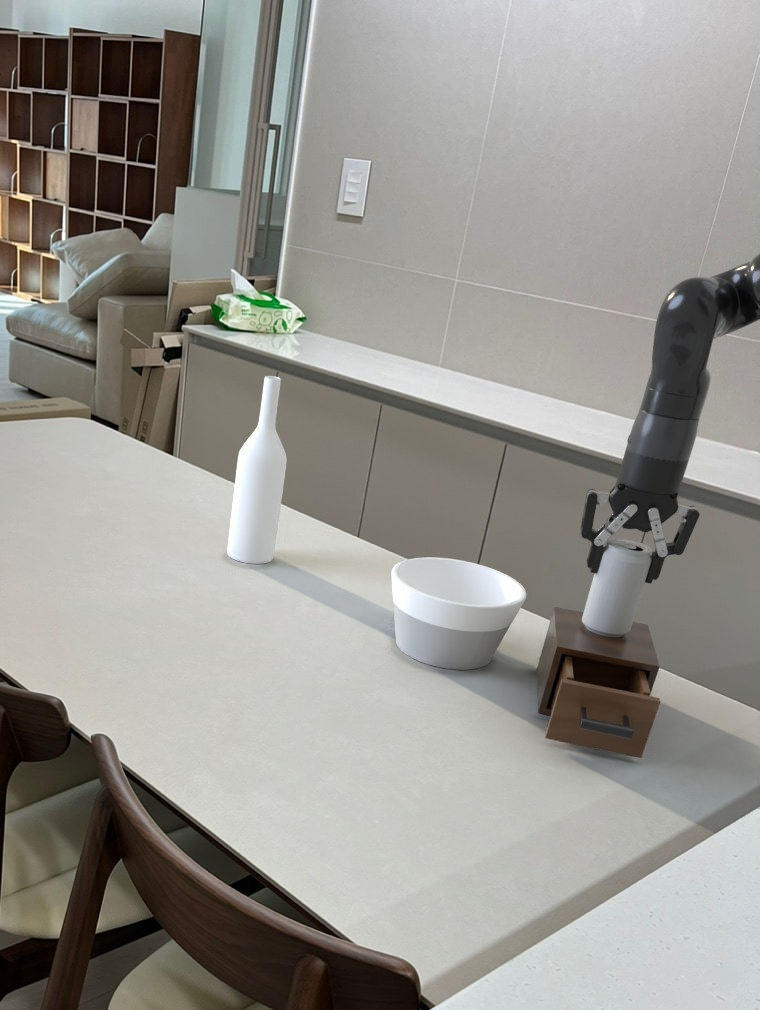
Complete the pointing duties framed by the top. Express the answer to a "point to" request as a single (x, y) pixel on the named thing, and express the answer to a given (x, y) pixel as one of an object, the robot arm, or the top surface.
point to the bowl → (452, 611)
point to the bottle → (259, 486)
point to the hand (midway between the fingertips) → (620, 576)
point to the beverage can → (617, 587)
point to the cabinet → (590, 650)
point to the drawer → (601, 706)
